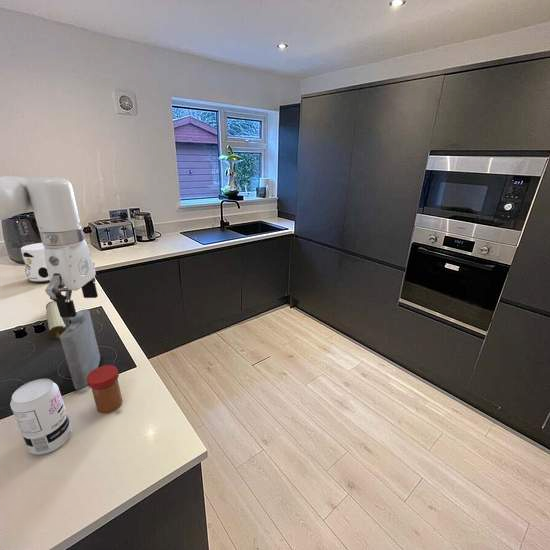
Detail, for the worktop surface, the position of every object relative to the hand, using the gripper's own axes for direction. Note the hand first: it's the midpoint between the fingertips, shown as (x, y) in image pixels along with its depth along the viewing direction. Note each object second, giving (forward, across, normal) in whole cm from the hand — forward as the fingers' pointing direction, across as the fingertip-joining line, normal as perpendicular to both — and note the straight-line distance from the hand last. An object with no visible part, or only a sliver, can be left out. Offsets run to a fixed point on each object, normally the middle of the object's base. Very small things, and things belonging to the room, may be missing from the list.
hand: (80, 306), depth 69 cm
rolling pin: (+28, +40, +35) cm, 60 cm away
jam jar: (+28, -3, -3) cm, 29 cm away
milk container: (+28, +88, +68) cm, 115 cm away
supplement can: (+28, -13, +6) cm, 32 cm away
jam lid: (+18, -3, -3) cm, 19 cm away
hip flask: (+28, +11, +9) cm, 32 cm away
